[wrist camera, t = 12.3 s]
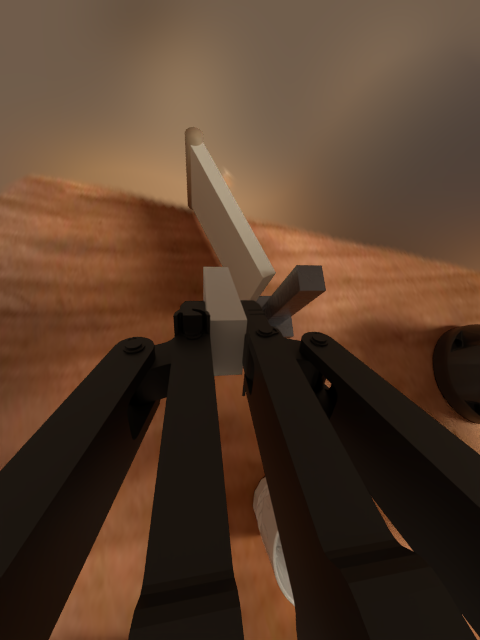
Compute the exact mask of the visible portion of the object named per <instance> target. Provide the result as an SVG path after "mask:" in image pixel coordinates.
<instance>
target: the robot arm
mask: <svg viewBox="0 0 480 640" xmlns="http://www.w3.org/2000/svg"><path fill="white" fill-rule="evenodd" d="M173 316H174V331H175V337H174V338H173V339H172V340H170V341H168V342H165V343H162V344H158V345H154V343H153V341H151V340H150V339H148V338H144V337H132V338H128V339H125V340H123V341H120V342H119V343H118V344H116V345H115V346H114V347H113V348H112V349H111V351H110V352H109V353H108V354H107V355H106V356H105V357H104V358H103V359H102V360H101V362H100V363H99V364H98V365H97V366H96V367H95V368H94V369H93V370H92V371H91V372H90V374H89V375H88V376H87V377H86V378H85V379H84V380H83V381H82V382H81V383H80V384H79V386H78V387H77V388H76V389H75V390H74V391H73V392H72V393H71V394H70V395H69V397H68V398H67V399H66V400H65V401H64V402H63V403H62V404H61V405H60V406H59V407H58V409H57V410H56V411H55V412H54V413H53V414H52V415H51V416H50V417H49V418H48V419H47V421H46V422H45V423H44V424H43V425H42V426H41V427H40V428H39V429H38V430H37V432H36V433H35V434H34V435H33V436H32V437H31V438H30V439H29V440H28V441H27V442H26V444H25V445H24V446H23V447H22V448H21V449H20V450H19V451H18V452H17V453H16V455H15V456H14V457H13V458H12V459H11V460H10V461H9V462H8V463H7V464H6V465H5V467H4V468H3V469H2V470H1V471H0V640H49V638H50V635H51V633H52V631H53V629H54V627H55V625H56V623H57V621H58V618H59V616H60V614H61V612H62V610H63V608H64V606H65V604H66V601H67V599H68V597H69V595H70V593H71V591H72V589H73V587H74V584H75V582H76V580H77V578H78V576H79V574H80V572H81V570H82V568H83V565H84V563H85V561H86V559H87V557H88V555H89V553H90V551H91V548H92V546H93V544H94V542H95V540H96V538H97V536H98V534H99V531H100V529H101V527H102V525H103V523H104V521H105V519H106V517H107V514H108V512H109V510H110V508H111V506H112V504H113V502H114V500H115V497H116V495H117V493H118V491H119V489H120V487H121V485H122V483H123V480H124V478H125V476H126V474H127V472H128V470H129V468H130V466H131V463H132V461H133V459H134V457H135V455H136V453H137V451H138V449H139V446H140V444H141V442H142V440H143V438H144V436H145V434H146V432H147V430H148V427H149V425H150V423H151V421H152V419H153V417H154V415H155V413H156V410H157V408H158V406H159V404H160V399H162V398H165V397H167V399H166V407H165V415H164V423H163V431H162V439H161V446H160V454H159V462H158V470H157V478H156V485H155V493H154V501H153V509H152V517H151V525H150V532H149V540H148V548H147V556H146V564H145V572H144V579H143V585H142V590H141V594H140V598H139V600H138V603H137V605H136V608H135V610H134V615H133V619H132V623H131V628H130V633H129V639H128V640H244V634H243V625H242V617H241V609H240V602H239V596H238V590H237V586H236V582H235V578H234V572H233V565H232V555H231V545H230V535H229V524H228V514H227V504H226V494H225V483H224V473H223V463H222V452H221V442H220V432H219V421H218V411H217V401H216V390H215V380H214V376H220V375H239V374H242V369H243V368H244V372H245V374H244V384H243V394H242V396H245V392H246V394H247V399H248V403H249V407H250V412H251V416H252V420H253V425H254V429H255V433H256V438H257V442H258V446H259V451H260V455H261V459H262V464H263V468H264V472H265V477H266V481H267V485H268V490H269V494H270V498H271V503H272V507H273V511H274V516H275V520H276V524H277V529H278V533H279V537H280V542H281V546H282V550H283V555H284V559H285V563H286V568H287V572H288V576H289V581H290V585H291V589H292V594H293V599H294V604H295V611H296V631H297V639H298V640H477V639H476V637H475V635H474V634H473V632H472V630H471V629H470V627H469V625H468V624H467V622H466V620H467V621H468V623H469V624H470V625H471V626H472V628H473V629H474V630H475V632H476V633H477V634H478V636H479V637H480V455H479V454H478V453H477V452H476V451H474V450H473V449H472V448H470V447H469V446H468V445H467V444H465V443H464V442H463V441H462V440H460V439H459V438H458V437H457V436H455V435H454V434H453V433H451V432H450V431H449V430H448V429H446V428H445V427H444V426H443V425H441V424H440V423H439V422H438V421H436V420H435V419H434V418H433V417H431V416H430V415H429V414H427V413H426V412H425V411H424V410H422V409H421V408H420V407H419V406H417V405H416V404H415V403H414V402H412V401H411V400H410V399H408V398H407V397H406V396H405V395H403V394H402V393H401V392H400V391H398V390H397V389H396V388H395V387H393V386H392V385H391V384H389V383H388V382H387V381H386V380H384V379H383V378H382V377H381V376H379V375H378V374H377V373H376V372H374V371H373V370H372V369H370V368H369V367H368V366H367V365H365V364H364V363H363V362H362V361H360V360H359V359H358V358H357V357H355V356H354V355H353V354H351V353H350V352H349V351H348V350H346V349H345V348H344V347H343V346H341V345H340V344H339V343H338V342H336V341H335V340H334V339H332V338H331V337H329V336H328V335H325V334H323V333H320V332H308V333H305V334H304V335H303V336H302V338H301V341H298V340H292V339H287V338H284V337H283V335H282V333H281V332H280V330H279V329H277V328H276V327H274V326H270V324H269V322H268V320H267V318H266V316H265V315H264V312H263V311H262V308H261V306H260V304H258V303H257V302H255V301H254V300H240V299H239V296H238V293H237V290H236V288H235V285H234V282H233V279H232V277H231V274H230V271H229V268H228V267H203V301H185V302H184V303H183V304H182V305H181V306H180V310H178V311H177V312H175V314H174V315H173ZM433 367H434V374H435V378H436V381H437V384H438V386H439V388H440V390H441V392H442V394H443V396H444V397H445V399H446V400H447V402H448V403H449V404H450V405H451V407H452V408H453V409H454V410H455V411H456V412H458V413H459V414H460V415H461V416H463V417H464V418H466V419H468V420H470V421H472V422H475V423H478V424H480V325H479V324H474V325H466V326H462V327H458V328H454V329H451V330H449V331H447V332H446V333H444V334H443V335H442V336H441V338H440V339H439V341H438V342H437V344H436V347H435V350H434V356H433ZM326 379H327V380H328V381H329V382H330V383H331V387H330V388H329V387H327V386H326V385H325V384H324V383H325V380H326ZM370 495H371V496H370ZM372 498H373V499H374V501H375V502H376V503H377V504H378V506H379V507H380V508H381V510H382V511H383V512H384V514H385V515H386V516H387V517H388V519H389V520H390V521H391V523H392V524H393V525H394V527H395V528H396V529H397V530H398V532H399V533H400V534H401V536H402V537H403V538H404V540H405V541H406V542H407V543H408V545H409V546H410V547H411V549H412V550H413V551H414V552H413V551H411V550H409V549H407V548H405V547H403V546H401V545H400V544H399V542H398V541H397V540H396V539H395V538H394V536H393V535H392V533H391V532H390V530H389V529H388V527H387V525H386V523H385V521H384V519H383V518H382V516H381V514H380V512H379V510H378V508H377V507H376V505H375V503H374V501H373V499H372ZM462 615H463V616H464V617H465V619H466V620H465V619H464V617H463V616H462Z"/></svg>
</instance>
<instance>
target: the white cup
mask: <svg viewBox="0 0 480 640" xmlns="http://www.w3.org/2000/svg"><path fill="white" fill-rule="evenodd" d="M253 509H254V512H255V516H256V519H257V522H258V528H259V531H260V534H261V537H262V540H263V543H264V546H265V549H266V552H267V554H268V557H269V560H270V563H271V566H272V568H273V571H274V574H275V577H276V580H277V582H278V585H279V587H280V589H281V591H282V592H283V594H284V595H285V597H286V598H287V599H288V600H289V601H290V602H291V603H292V604H293V605H294V606H295V604H294V599H293V594H292V589H291V585H290V581H289V576H288V572H287V568H286V563H285V559H284V555H283V550H282V546H281V542H280V537H279V533H278V529H277V524H276V520H275V516H274V511H273V507H272V503H271V498H270V494H269V490H268V485H267V481H266V477H264V478H263V479H262V480H261V481H260V483H259V485H258V487H257V488H256V490H255V492H254V502H253Z"/></svg>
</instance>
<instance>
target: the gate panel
mask: <svg viewBox="0 0 480 640" xmlns="http://www.w3.org/2000/svg"><path fill="white" fill-rule="evenodd" d="M185 146H186V172H187V195H188V206H189V208H190V209H192V210H193V211H194V212H195V214H196V216H197V218H198V220H199V222H200V224H201V226H202V228H203V230H204V232H205V234H206V236H207V237H208V239H209V241H210V243H211V245H212V247H213V249H214V251H215V253H216V255H217V257H218V259H219V261H220V263H221V264H222V266H223V267H228V268H229V271H230V274H231V277H232V279H233V282H234V285H235V288H236V290H237V293H238V296H239V299H240V300H254V301H255V302H256V301H257V299H258V298H259V296H260V295H261V293H262V292H263V291H264V289H265V288H266V286H267V285H268V283H269V282H270V281H271V279H272V278H273V276H274V275H275V273H276V272H275V270H274V269H273V267H272V265H271V263H270V262H269V260H268V258H267V256H266V254H265V253H264V251H263V249H262V247H261V245H260V244H259V242H258V240H257V238H256V236H255V235H254V233H253V231H252V229H251V227H250V226H249V224H248V222H247V220H246V218H245V217H244V215H243V213H242V211H241V209H240V208H239V206H238V204H237V202H236V200H235V199H234V197H233V195H232V193H231V191H230V190H229V188H228V186H227V184H226V182H225V181H224V179H223V177H222V175H221V174H220V172H219V170H218V168H217V166H216V165H215V163H214V161H213V159H212V157H211V156H210V154H209V152H208V150H207V148H206V147H205V145H204V143H203V133H202V131H201V130H200V129H198V128H195V127H191V128H188V129H186V131H185Z"/></svg>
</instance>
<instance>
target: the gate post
mask: <svg viewBox="0 0 480 640" xmlns="http://www.w3.org/2000/svg"><path fill="white" fill-rule="evenodd" d="M325 291H326V288H325V282H324V276H323V271H322V266H312V265H296V267H295V268H294V269H293V270H292V271H291V273H290V274H289V275H288V276H287V278H286V279H285V280H284V281H283V282H282V284H281V285H280V286H279V287H278V288H277V290H276V291H275V292H274V293H273V294H272V296H259V298H258V299H257V301H256V302H257V303H258V304H260V306H261V308H262V311H263V312H264V315H265V316H266V318H267V320H268V322H269V324H270V326H274V327H276V328H277V329H279V330H280V332H281V333H282V335H283V337H284V338H291V337H293V336H294V335H293V327H292V319H291V316H292V315H294V314H295V313H296V312H298V311H299V310H301V309H302V308H303V307H305V306H306V305H307V304H309V303H310V302H311V301H313V300H314V299H315V298H317V297H318V296H319V295H321V294H322V293H323V292H325Z"/></svg>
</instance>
